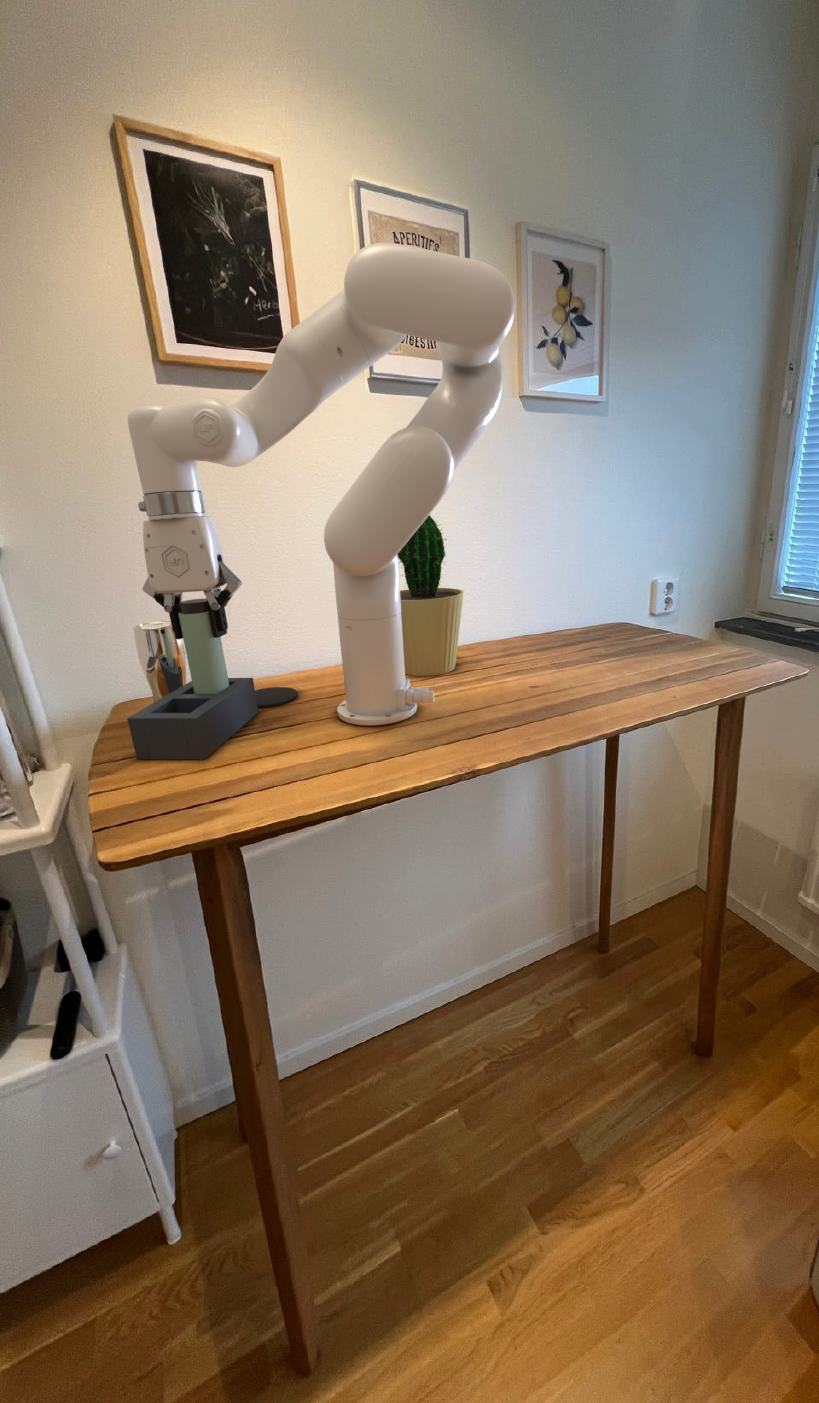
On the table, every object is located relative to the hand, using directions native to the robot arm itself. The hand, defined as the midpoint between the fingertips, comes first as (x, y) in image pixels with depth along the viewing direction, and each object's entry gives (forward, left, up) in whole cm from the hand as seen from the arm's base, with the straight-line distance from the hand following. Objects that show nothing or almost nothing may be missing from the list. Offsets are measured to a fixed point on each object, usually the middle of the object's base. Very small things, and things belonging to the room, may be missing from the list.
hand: (201, 635), depth 82 cm
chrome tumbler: (+10, -5, -14) cm, 18 cm away
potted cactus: (-30, -30, -14) cm, 44 cm away
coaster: (-4, -12, -14) cm, 19 cm away
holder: (0, +4, -14) cm, 15 cm away
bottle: (0, 0, -11) cm, 11 cm away
